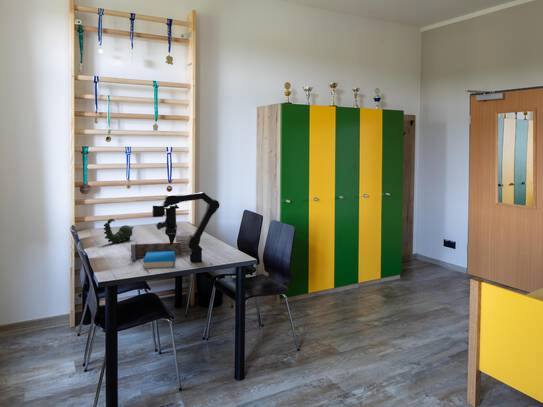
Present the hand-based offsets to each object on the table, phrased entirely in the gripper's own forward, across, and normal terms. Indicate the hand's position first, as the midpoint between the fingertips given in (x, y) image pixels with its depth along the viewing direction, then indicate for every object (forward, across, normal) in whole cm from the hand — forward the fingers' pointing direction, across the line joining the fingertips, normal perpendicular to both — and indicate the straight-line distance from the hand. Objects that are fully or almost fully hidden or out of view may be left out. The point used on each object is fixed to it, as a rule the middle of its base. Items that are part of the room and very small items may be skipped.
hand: (171, 243), depth 266 cm
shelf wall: (+12, -20, -10) cm, 26 cm away
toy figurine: (+12, -69, -38) cm, 80 cm away
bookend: (+12, -14, -22) cm, 29 cm away
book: (+13, -5, -7) cm, 15 cm away
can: (+12, -30, +7) cm, 33 cm away
